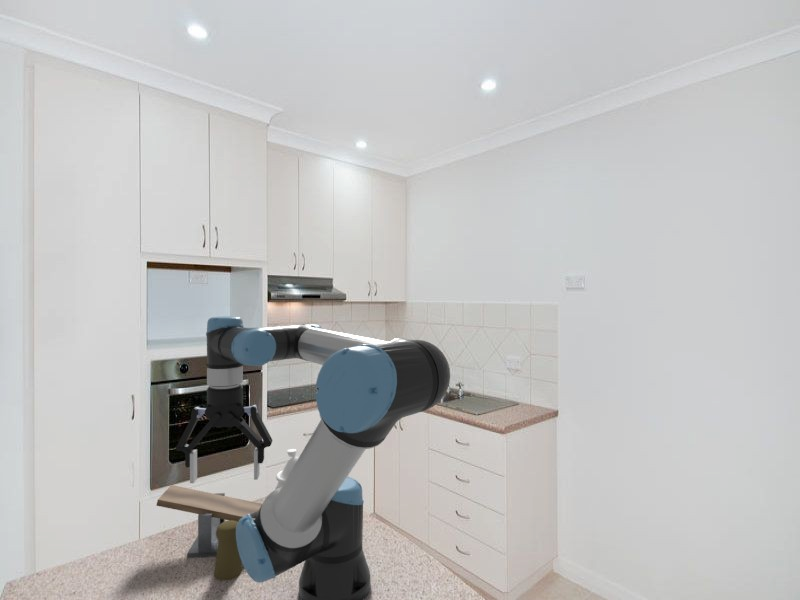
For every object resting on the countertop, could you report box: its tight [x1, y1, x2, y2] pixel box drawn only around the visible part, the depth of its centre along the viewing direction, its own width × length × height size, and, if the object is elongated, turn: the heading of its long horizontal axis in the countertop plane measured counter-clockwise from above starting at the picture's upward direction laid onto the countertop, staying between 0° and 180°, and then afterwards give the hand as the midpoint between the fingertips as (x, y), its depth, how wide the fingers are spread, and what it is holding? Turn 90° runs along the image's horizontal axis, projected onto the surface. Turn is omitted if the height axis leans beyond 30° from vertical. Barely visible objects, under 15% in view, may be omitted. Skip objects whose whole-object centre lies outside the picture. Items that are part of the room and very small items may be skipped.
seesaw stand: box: [186, 492, 226, 559], centre depth 111 cm, size 12×8×10 cm
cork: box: [213, 520, 244, 581], centre depth 100 cm, size 6×6×11 cm
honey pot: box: [275, 448, 300, 490], centre depth 125 cm, size 13×13×18 cm
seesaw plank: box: [155, 484, 263, 522], centre depth 111 cm, size 9×24×2 cm, turn 97°
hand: (225, 479), depth 100 cm, fingers open, 13 cm apart
